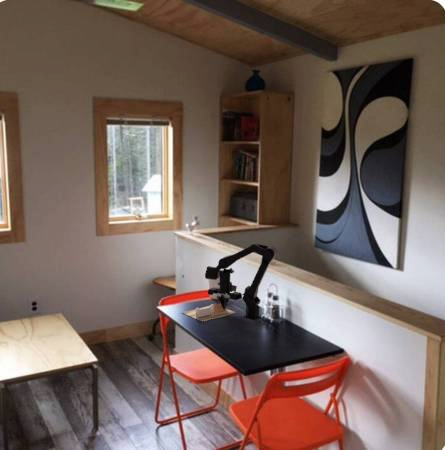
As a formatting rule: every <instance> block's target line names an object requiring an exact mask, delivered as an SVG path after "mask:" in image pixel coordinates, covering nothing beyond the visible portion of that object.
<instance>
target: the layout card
mask: <svg viewBox="0 0 445 450" xmlns="http://www.w3.org/2000/svg"><path fill="white" fill-rule="evenodd" d="M209 306H210V305H207V306H203V307H198V308H199V309H201V308H205V307H209ZM182 313H183V315H184V316H187V315H188V316H187V317H189V316H190V318H192V319H194V320H196V319H197V321H199V322H201V321H202V323H204V322H207V321H211V319H212V320H216V319H220V318H222V317H227V316H231V315H235V314H237V312H236V311H233V310H230V309H228V308H226V310H223V311H220V312H217V313H214V315H211V314H210V315H206V316H203V317H199V318H196V308H195V309H190V310H186V311H182V312H181V314H182ZM203 321H204V322H203Z"/></svg>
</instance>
